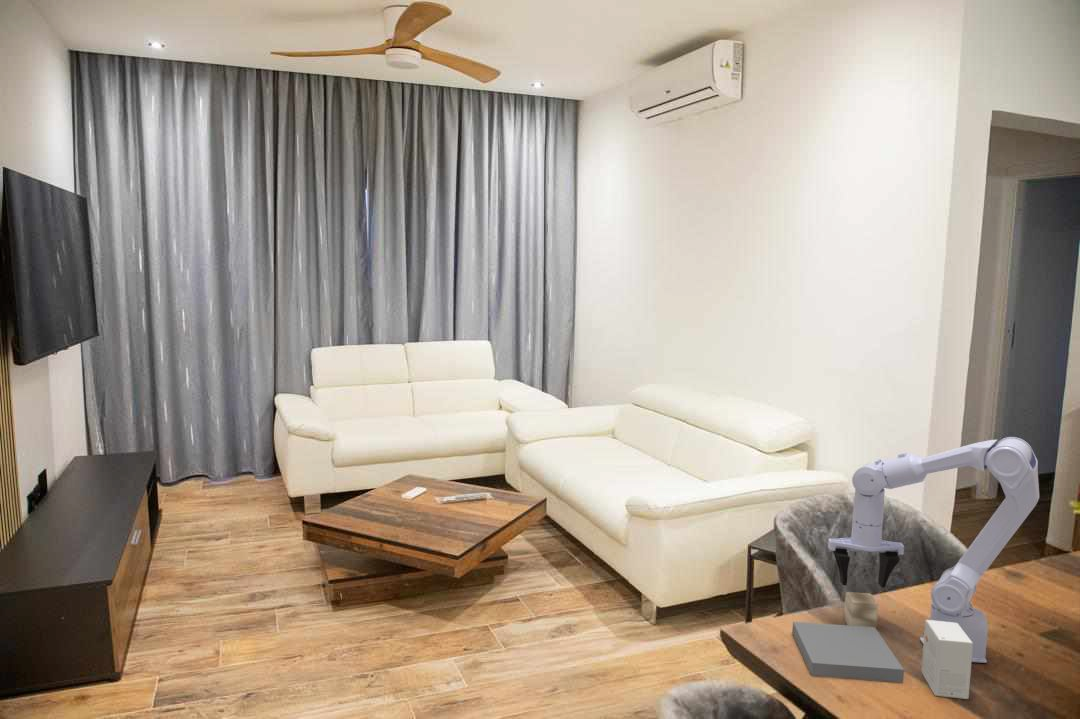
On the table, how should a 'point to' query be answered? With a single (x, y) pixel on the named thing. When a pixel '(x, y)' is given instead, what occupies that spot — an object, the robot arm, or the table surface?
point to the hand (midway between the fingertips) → (862, 584)
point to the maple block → (860, 609)
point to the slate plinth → (846, 652)
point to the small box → (947, 659)
